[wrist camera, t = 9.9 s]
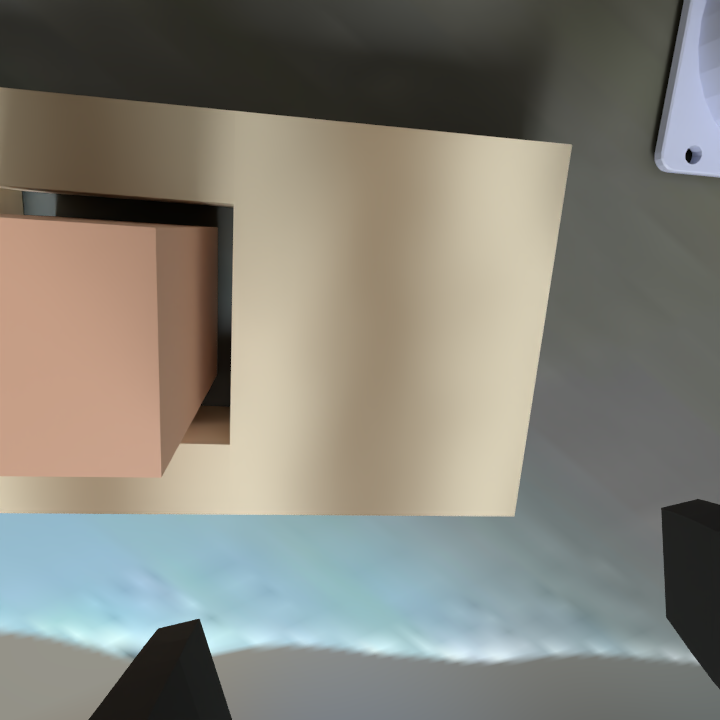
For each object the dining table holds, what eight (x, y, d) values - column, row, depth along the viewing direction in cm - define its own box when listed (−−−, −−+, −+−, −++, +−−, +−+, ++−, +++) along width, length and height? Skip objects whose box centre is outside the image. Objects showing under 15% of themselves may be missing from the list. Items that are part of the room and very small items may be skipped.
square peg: (217, 227, 15) (154, 228, 9) (217, 374, 16) (161, 477, 10) (55, 216, 15) (-148, 207, 8) (65, 369, 16) (-107, 474, 9)
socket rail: (522, 159, 16) (572, 144, 13) (479, 470, 18) (514, 516, 15) (-335, 78, 13) (-516, 35, 10) (-254, 456, 15) (-382, 510, 12)
